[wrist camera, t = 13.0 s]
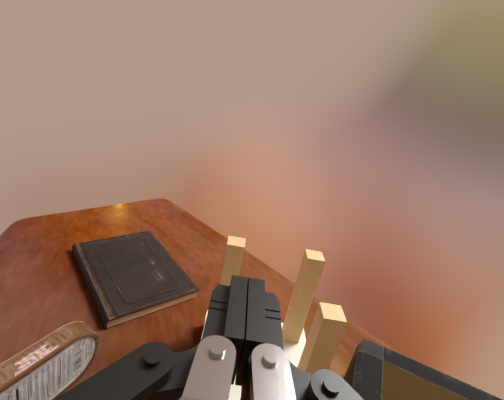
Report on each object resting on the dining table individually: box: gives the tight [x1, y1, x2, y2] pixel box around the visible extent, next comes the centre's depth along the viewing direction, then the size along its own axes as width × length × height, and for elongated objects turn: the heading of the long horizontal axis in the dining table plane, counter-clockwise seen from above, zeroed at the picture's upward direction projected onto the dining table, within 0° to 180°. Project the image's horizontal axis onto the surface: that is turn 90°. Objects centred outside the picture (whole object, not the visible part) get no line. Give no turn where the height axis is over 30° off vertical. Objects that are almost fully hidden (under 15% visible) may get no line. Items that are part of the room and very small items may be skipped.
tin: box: [0, 321, 99, 400], centre depth 34 cm, size 15×3×8 cm, turn 153°
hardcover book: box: [72, 231, 199, 330], centre depth 59 cm, size 16×23×2 cm
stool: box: [201, 236, 347, 400], centre depth 39 cm, size 16×18×18 cm
